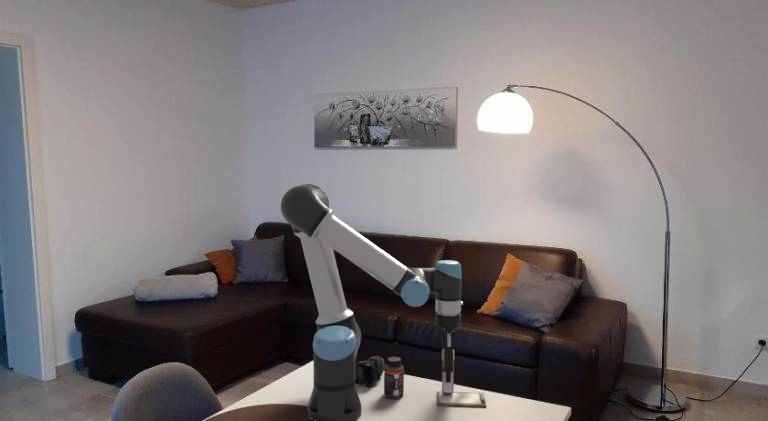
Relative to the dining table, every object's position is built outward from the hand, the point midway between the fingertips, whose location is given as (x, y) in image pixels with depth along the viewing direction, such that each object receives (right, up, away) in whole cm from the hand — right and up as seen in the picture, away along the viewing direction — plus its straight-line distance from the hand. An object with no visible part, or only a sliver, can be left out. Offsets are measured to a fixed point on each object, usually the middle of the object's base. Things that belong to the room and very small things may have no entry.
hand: (447, 389), depth 173 cm
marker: (0, -1, 0) cm, 1 cm away
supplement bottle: (-16, -2, +1) cm, 16 cm away
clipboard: (+4, -3, -2) cm, 5 cm away
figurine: (-23, -1, +14) cm, 27 cm away
